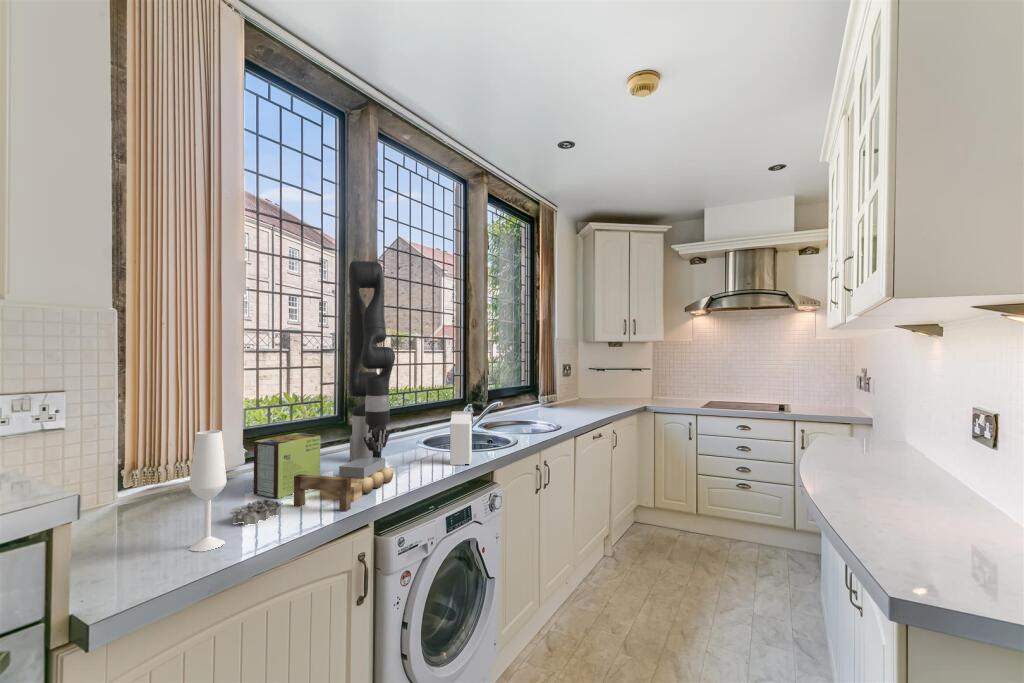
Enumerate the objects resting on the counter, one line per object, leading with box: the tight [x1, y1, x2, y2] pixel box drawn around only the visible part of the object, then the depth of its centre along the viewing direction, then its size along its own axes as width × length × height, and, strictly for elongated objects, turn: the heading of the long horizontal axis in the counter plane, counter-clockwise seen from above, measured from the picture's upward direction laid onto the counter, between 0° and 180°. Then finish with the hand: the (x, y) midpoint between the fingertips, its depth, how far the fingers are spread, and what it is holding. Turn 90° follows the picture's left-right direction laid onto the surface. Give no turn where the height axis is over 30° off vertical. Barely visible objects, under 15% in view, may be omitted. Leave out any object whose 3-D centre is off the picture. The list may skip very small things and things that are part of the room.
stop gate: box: [293, 474, 352, 512], centre depth 127 cm, size 16×2×8 cm, turn 76°
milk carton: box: [449, 410, 473, 466], centre depth 177 cm, size 7×7×19 cm
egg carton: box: [229, 497, 284, 526], centre depth 119 cm, size 11×8×4 cm
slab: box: [338, 457, 386, 478], centre depth 146 cm, size 8×13×3 cm, turn 167°
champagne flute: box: [188, 429, 227, 552], centre depth 102 cm, size 7×7×24 cm
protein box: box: [253, 432, 321, 500], centre depth 143 cm, size 10×15×16 cm
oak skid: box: [319, 483, 363, 503], centre depth 135 cm, size 11×4×4 cm, turn 75°
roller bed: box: [335, 466, 394, 494], centre depth 146 cm, size 11×16×4 cm, turn 166°
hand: (377, 462), depth 154 cm, fingers closed
